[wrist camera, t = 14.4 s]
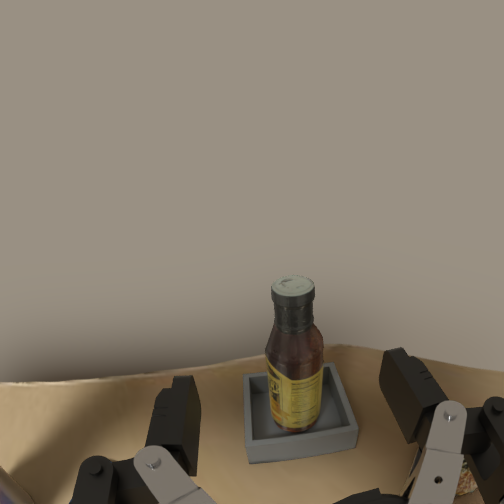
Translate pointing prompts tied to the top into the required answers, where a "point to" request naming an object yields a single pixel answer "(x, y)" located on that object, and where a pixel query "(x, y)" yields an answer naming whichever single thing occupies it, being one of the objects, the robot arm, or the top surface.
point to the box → (297, 443)
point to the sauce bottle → (294, 356)
